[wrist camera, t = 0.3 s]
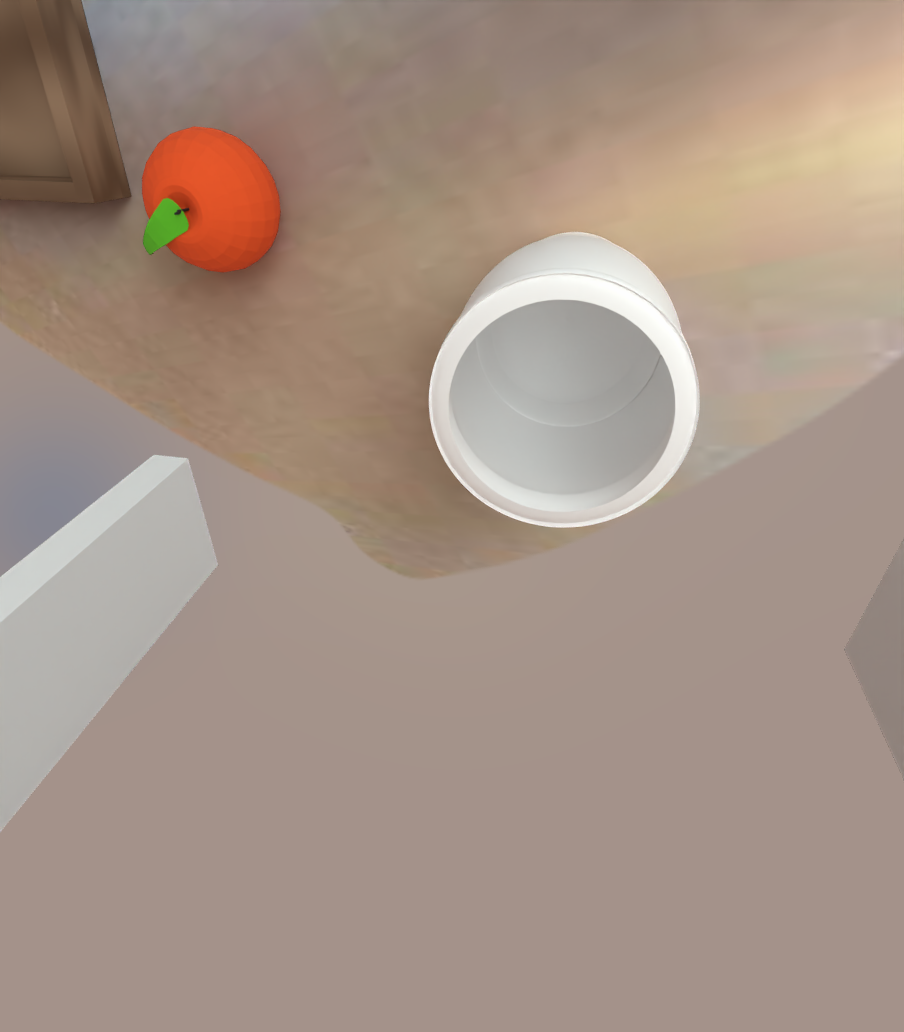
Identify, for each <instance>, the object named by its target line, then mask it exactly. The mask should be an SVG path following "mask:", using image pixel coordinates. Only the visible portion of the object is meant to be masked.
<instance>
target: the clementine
mask: <svg viewBox="0 0 904 1032" xmlns="http://www.w3.org/2000/svg"><path fill="white" fill-rule="evenodd" d="M142 195H143V200H144V205H145V209H146V212H147V215H148V217H149V221H148V224H147V226H146V229H145V233H144V239H143V245H144V247H145V249H146V251H147V252H148V253H149V254H150V255H151V254H153V252H155V251H156V250H158V249H159V248H161V247H162V246H164V245H166V246H167V247H168V248H169V249H170V250H171V251H172V252H173V253H174V254H176V255H177V256H179V257H180V258H181V259H183V260H184V261H186V262H188V263H190V264H193V265H195V266H198V267H200V268H203V269H206V270H208V271H216V272H228V271H234V270H239V269H244V268H247V267H248V266H250V265H252V264H253V263H255V262H257V261H258V260H259V259H260V258H261V257H262V256H263V255H264V254H265V253H266V252H267V251H268V250H269V248H270V247H271V246H272V244H273V242H274V239H275V237H276V235H277V232H278V226H279V219H280V202H279V195H278V191H277V188H276V185H275V182H274V179H273V177H272V176H271V174H270V172H269V170H268V168H267V167H266V165H265V164H264V163H263V161H262V160H261V159H260V158H259V157H258V156H257V154H256V153H255V152H254V151H253V150H252V149H251V148H250V147H249V146H248V145H246V144H245V143H244V142H242V141H241V140H240V139H238V138H237V137H235V136H233V135H231V134H228V133H226V132H223V131H221V130H217V129H213V128H204V127H191V128H188V129H184V130H181V131H178V132H175V133H172V134H170V135H169V136H167V137H166V138H165V139H163V140H162V141H161V142H159V143H158V145H157V146H156V148H155V150H154V151H153V153H152V154H151V156H150V157H149V159H148V161H147V162H146V166H145V169H144V173H143V177H142Z"/></svg>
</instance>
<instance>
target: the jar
mask: <svg viewBox="0 0 904 1032" xmlns="http://www.w3.org/2000/svg"><path fill="white" fill-rule="evenodd" d="M699 408H700V392H699V383H698V377H697V372H696V368H695V365H694V361H693V357H692V354H691V352H690V349H689V347H688V344H687V342H686V340H685V338H684V336H683V335H682V331H681V327H680V323H679V319H678V316H677V313H676V311H675V308H674V306H673V303H672V301H671V299H670V297H669V295H668V294H667V292H666V290H665V288H664V287H663V285H662V284H661V282H660V281H659V280H658V278H657V277H656V276H655V275H654V273H653V272H652V271H651V270H650V269H649V268H648V267H647V266H646V265H645V264H644V263H643V262H642V261H640V260H639V259H638V258H637V257H635V256H634V255H633V254H631V253H630V252H628V251H627V250H625V249H623V248H621V247H620V246H617V245H615V244H614V243H612V242H610V241H609V240H607V239H605V238H603V237H600V236H597V235H594V234H590V233H585V232H565V233H560V234H556V235H552V236H550V237H547V238H545V239H543V240H540V241H537V242H534V243H531V244H529V245H527V246H525V247H523V248H521V249H519V250H517V251H515V252H514V253H512V254H511V255H509V256H508V257H506V258H505V259H504V260H502V261H501V262H500V263H499V264H497V265H496V266H495V267H494V268H493V269H492V270H491V271H490V272H489V273H488V274H487V275H486V276H485V277H484V279H483V280H482V281H481V282H480V283H479V285H478V286H477V287H476V289H475V290H474V292H473V293H472V295H471V296H470V298H469V300H468V302H467V303H466V305H465V307H464V309H463V311H462V314H461V316H460V317H459V318H458V319H457V321H456V322H455V323H454V325H453V326H452V328H451V329H450V331H449V333H448V334H447V336H446V338H445V339H444V341H443V343H442V346H441V348H440V350H439V353H438V356H437V359H436V361H435V364H434V368H433V371H432V376H431V381H430V388H429V413H430V421H431V426H432V430H433V434H434V437H435V440H436V443H437V445H438V448H439V450H440V452H441V454H442V456H443V458H444V460H445V462H446V463H447V465H448V467H449V468H450V470H451V471H452V472H453V474H454V475H455V476H456V478H457V479H458V480H459V481H460V482H461V483H462V485H463V486H464V487H465V488H466V489H467V490H468V491H470V492H471V493H472V494H473V495H474V496H475V497H477V498H478V499H479V500H481V501H482V502H483V503H485V504H486V505H488V506H489V507H491V508H493V509H495V510H496V511H498V512H500V513H502V514H504V515H507V516H509V517H511V518H514V519H517V520H520V521H523V522H526V523H530V524H535V525H540V526H547V527H580V526H587V525H593V524H597V523H601V522H605V521H608V520H611V519H614V518H616V517H619V516H621V515H623V514H626V513H628V512H630V511H631V510H633V509H635V508H637V507H638V506H640V505H642V504H643V503H644V502H646V501H647V500H649V499H650V498H651V497H653V496H654V495H655V494H656V493H657V492H658V491H659V490H660V489H662V488H663V487H664V486H665V484H666V483H667V482H668V481H669V480H670V479H671V478H672V476H673V475H674V474H675V473H676V471H677V470H678V468H679V467H680V465H681V464H682V462H683V460H684V459H685V457H686V455H687V453H688V451H689V448H690V446H691V444H692V441H693V438H694V435H695V431H696V428H697V423H698V417H699Z"/></svg>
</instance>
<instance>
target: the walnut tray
mask: <svg viewBox="0 0 904 1032" xmlns="http://www.w3.org/2000/svg"><path fill="white" fill-rule="evenodd" d="M126 197H131V193H130V189H129V185H128V181H127V177H126V173H125V169H124V165H123V162H122V158H121V154H120V150H119V146H118V142H117V138H116V134H115V130H114V127H113V123H112V119H111V115H110V111H109V107H108V103H107V99H106V95H105V92H104V88H103V84H102V80H101V76H100V72H99V68H98V64H97V61H96V57H95V53H94V49H93V45H92V41H91V37H90V33H89V29H88V26H87V22H86V18H85V14H84V10H83V6H82V2H81V0H0V199H8V200H30V201H52V202H74V203H100V202H105V201H110V200H115V199H120V198H126Z"/></svg>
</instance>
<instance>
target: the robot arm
mask: <svg viewBox="0 0 904 1032" xmlns="http://www.w3.org/2000/svg"><path fill="white" fill-rule="evenodd" d="M217 566H218V563H217V559H216V555H215V552H214V548H213V545H212V541H211V538H210V534H209V531H208V527H207V523H206V520H205V516H204V513H203V509H202V506H201V502H200V499H199V495H198V491H197V488H196V484H195V481H194V477H193V474H192V471H191V467H190V463H189V460H188V458H179V457H170V456H160V455H153V456H152V457H151V458H149V459H148V460H147V461H145V462H144V463H143V464H142V465H141V466H139V467H138V468H137V469H135V470H134V471H133V472H132V473H130V474H129V475H128V476H127V477H125V478H124V479H123V480H122V481H120V482H119V483H118V484H117V485H115V486H114V487H113V488H112V489H110V490H109V491H108V492H107V493H105V494H104V495H103V496H101V497H100V498H99V499H98V500H97V501H95V502H94V503H93V504H91V505H90V506H89V507H88V508H87V509H85V510H84V511H83V512H81V513H80V514H79V515H78V516H76V517H75V518H74V519H73V520H71V522H69V523H68V524H66V525H65V526H64V527H63V528H61V529H60V530H59V531H58V532H56V533H55V534H54V535H53V536H51V537H50V538H49V539H48V540H46V541H45V542H44V543H42V544H41V545H40V546H39V547H37V548H36V549H35V550H34V551H33V552H31V553H30V554H29V555H27V556H26V557H25V558H24V559H23V560H21V561H20V562H19V563H17V564H16V565H15V566H14V567H12V568H11V569H10V570H9V571H7V572H6V573H5V574H4V575H2V576H1V577H0V832H1V830H2V829H3V828H4V827H5V826H6V824H7V823H8V822H9V821H10V819H11V818H12V817H13V816H14V814H15V813H16V812H17V811H18V809H19V808H20V807H21V806H22V805H23V803H24V802H25V801H26V800H27V799H28V797H29V796H30V795H31V793H32V792H33V791H34V790H35V789H36V788H37V786H38V785H39V784H40V783H41V781H42V780H43V779H44V778H45V776H46V775H47V774H48V773H49V772H50V770H51V769H52V768H53V767H54V765H55V764H56V763H57V762H58V761H59V759H60V758H61V757H62V756H63V754H64V753H65V752H66V751H67V750H68V748H69V747H70V746H71V745H72V743H73V742H74V741H75V740H76V739H77V737H78V736H79V735H80V734H81V732H82V731H83V730H84V728H85V727H86V726H87V725H88V724H89V723H90V721H91V720H92V719H93V718H94V716H95V715H96V714H97V713H98V712H99V710H100V709H101V708H102V707H103V705H104V704H105V703H106V702H107V700H108V699H109V698H110V697H111V695H112V694H113V693H114V692H115V691H116V689H117V688H118V687H119V686H120V685H121V683H122V682H123V681H124V680H125V678H126V677H127V676H128V675H129V674H130V672H131V671H132V670H133V669H134V667H135V666H136V665H137V664H138V662H139V661H140V660H141V659H142V658H143V656H144V655H145V654H146V653H147V652H148V650H149V649H150V648H151V647H152V645H153V644H154V643H155V642H156V640H157V639H158V638H159V636H161V634H162V633H163V632H164V631H165V629H166V628H167V627H168V626H169V625H170V623H171V622H172V621H173V619H174V618H175V617H176V616H177V615H178V614H179V612H180V611H181V610H182V609H183V607H184V606H185V605H186V604H187V603H188V601H189V600H190V599H191V598H192V596H193V595H194V594H195V593H196V591H197V590H198V589H199V588H200V587H201V585H202V584H203V583H204V582H205V580H206V579H207V578H208V577H209V575H210V574H211V573H212V572H213V571H214V569H215V568H216V567H217ZM844 650H845V653H846V655H847V657H848V659H849V661H850V664H851V666H852V668H853V670H854V672H855V675H856V677H857V679H858V681H859V683H860V685H861V688H862V690H863V692H864V694H865V696H866V699H867V701H868V703H869V705H870V707H871V709H872V712H873V714H874V716H875V718H876V720H877V723H878V725H879V727H880V729H881V731H882V734H883V736H884V738H885V740H886V742H887V745H888V747H889V749H890V751H891V753H892V755H893V758H894V760H895V762H896V764H897V766H898V768H899V771H900V773H901V775H902V777H903V779H904V539H903V541H902V543H901V545H900V546H899V548H898V550H897V552H896V554H895V556H894V558H893V559H892V561H891V563H890V565H889V567H888V569H887V571H886V573H885V574H884V576H883V578H882V580H881V582H880V584H879V585H878V587H877V589H876V591H875V593H874V595H873V597H872V598H871V601H870V602H869V604H868V606H867V608H866V610H865V612H864V613H863V615H862V617H861V619H860V621H859V623H858V625H857V627H856V628H855V630H854V632H853V634H852V636H851V638H850V639H849V641H848V643H847V645H846V647H845V649H844Z"/></svg>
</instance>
